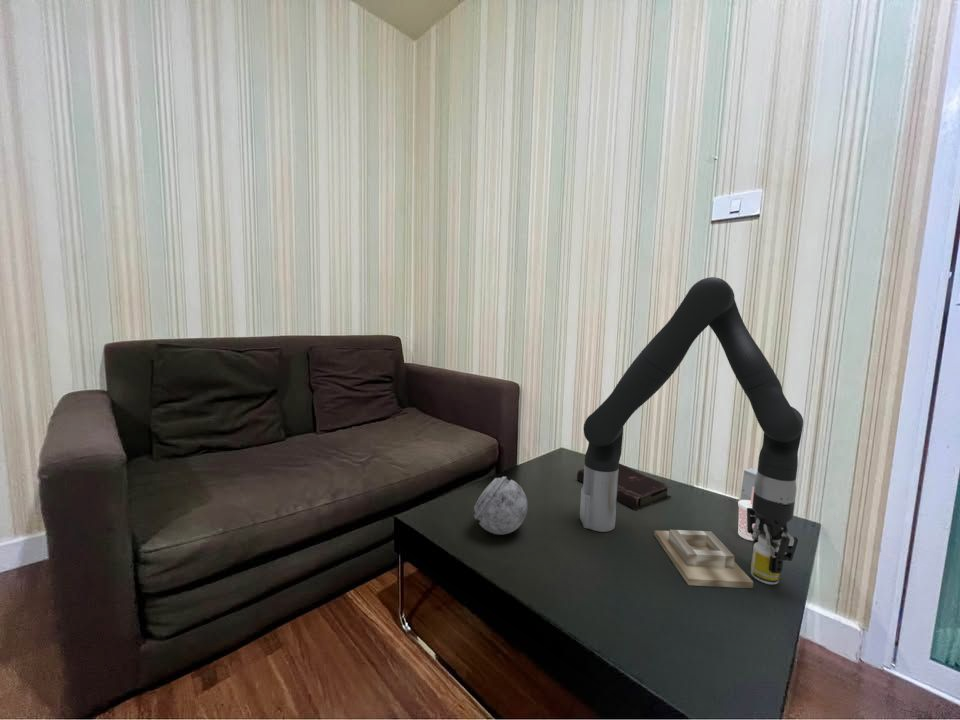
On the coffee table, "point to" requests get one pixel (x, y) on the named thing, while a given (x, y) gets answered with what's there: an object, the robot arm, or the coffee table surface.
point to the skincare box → (748, 483)
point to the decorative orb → (501, 506)
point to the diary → (636, 488)
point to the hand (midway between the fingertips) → (766, 563)
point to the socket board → (704, 571)
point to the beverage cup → (744, 517)
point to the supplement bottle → (763, 561)
